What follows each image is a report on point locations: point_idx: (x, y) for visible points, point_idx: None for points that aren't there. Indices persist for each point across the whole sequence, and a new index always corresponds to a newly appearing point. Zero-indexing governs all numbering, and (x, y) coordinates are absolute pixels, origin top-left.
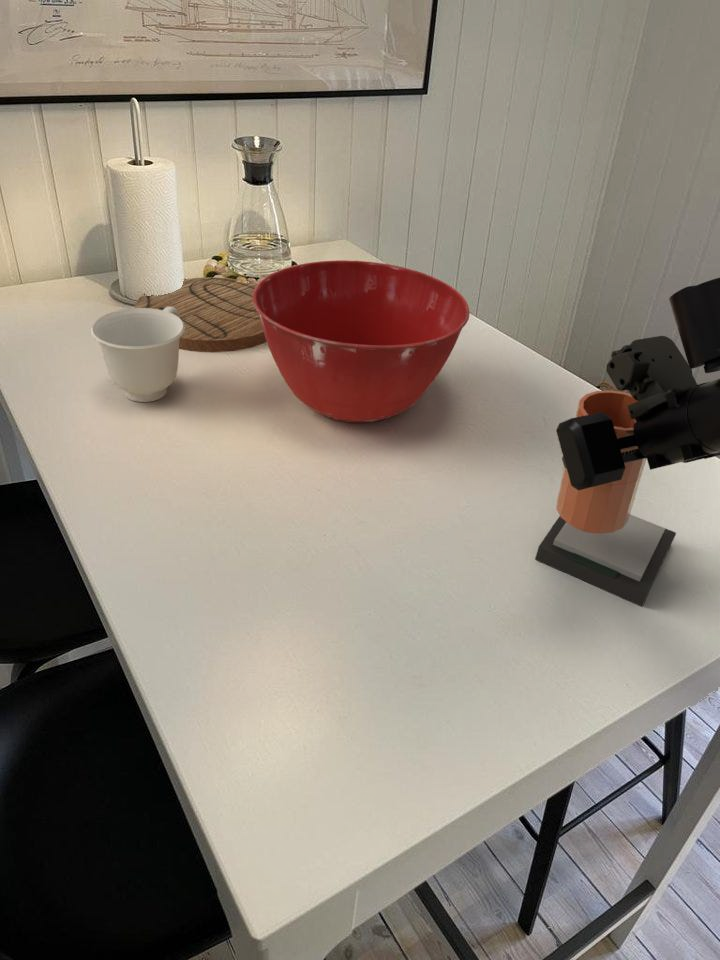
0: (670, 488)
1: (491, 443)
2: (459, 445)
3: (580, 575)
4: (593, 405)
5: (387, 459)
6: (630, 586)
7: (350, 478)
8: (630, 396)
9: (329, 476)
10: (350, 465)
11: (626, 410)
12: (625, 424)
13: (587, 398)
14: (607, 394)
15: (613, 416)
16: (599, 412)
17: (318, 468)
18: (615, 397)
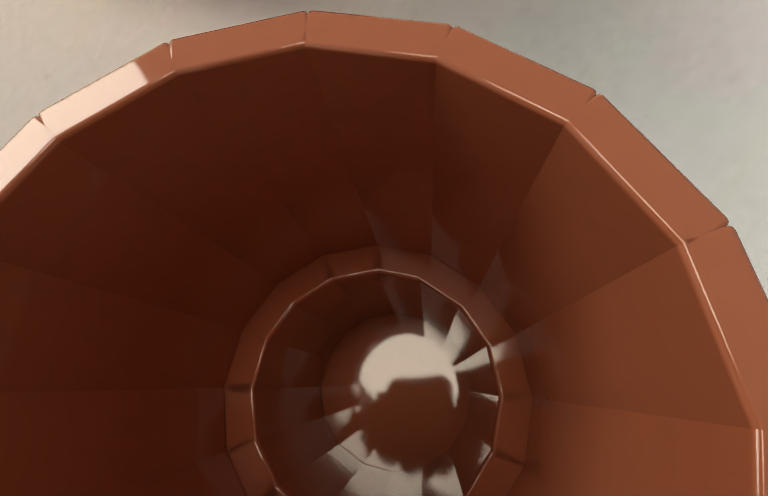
0: (761, 220)
1: (426, 14)
2: (359, 9)
3: None
4: (304, 131)
5: (205, 23)
6: None
7: (114, 58)
8: (614, 178)
9: (83, 47)
10: (133, 26)
11: (556, 239)
12: (535, 289)
13: (140, 101)
14: (399, 72)
15: (476, 214)
16: (384, 167)
17: (77, 24)
18: (477, 117)
